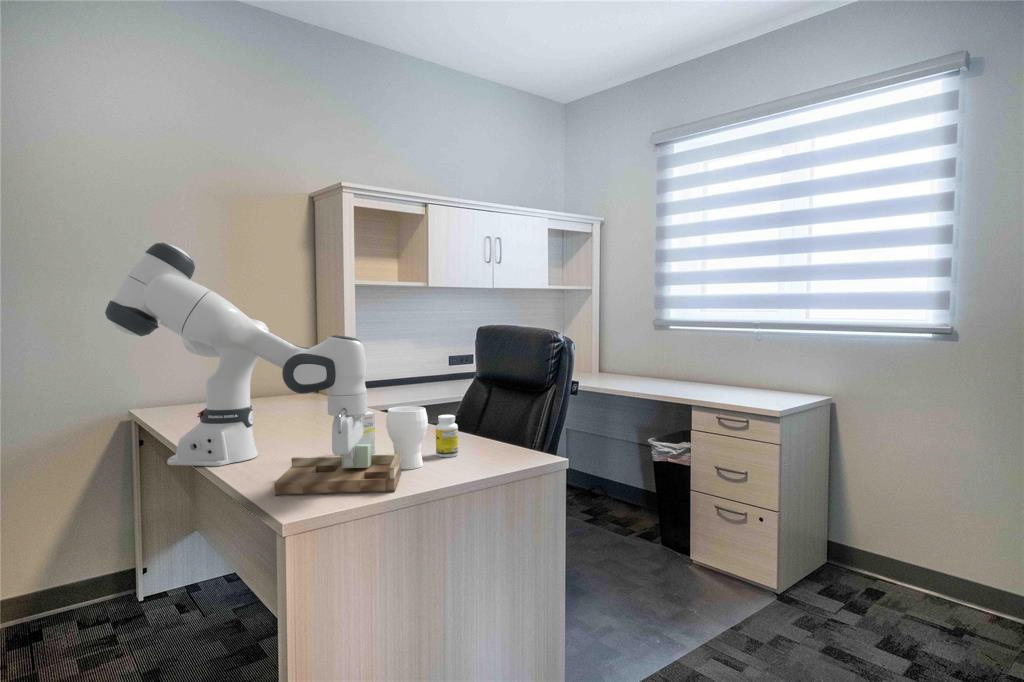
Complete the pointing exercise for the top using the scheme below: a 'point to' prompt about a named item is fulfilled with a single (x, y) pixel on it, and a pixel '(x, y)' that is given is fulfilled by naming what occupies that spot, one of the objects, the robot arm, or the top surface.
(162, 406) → the top surface
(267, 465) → the top surface
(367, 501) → the top surface
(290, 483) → the wooden tray
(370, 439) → the ink box
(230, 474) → the top surface
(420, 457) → the cup
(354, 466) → the block
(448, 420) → the pill bottle
